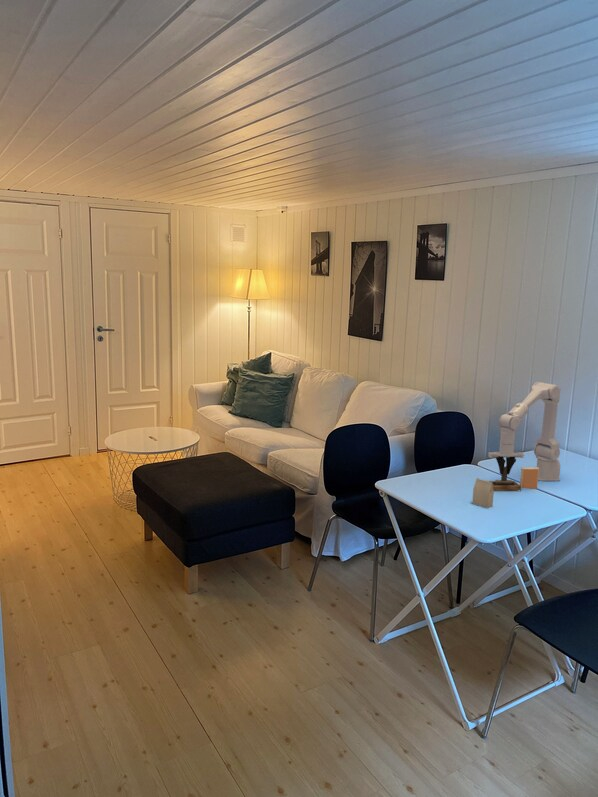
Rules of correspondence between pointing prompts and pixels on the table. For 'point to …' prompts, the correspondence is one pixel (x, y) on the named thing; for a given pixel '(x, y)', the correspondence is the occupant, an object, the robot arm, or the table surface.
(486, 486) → the tea bag
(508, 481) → the turner
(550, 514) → the table surface
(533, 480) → the tile
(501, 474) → the robot arm
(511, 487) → the frame
